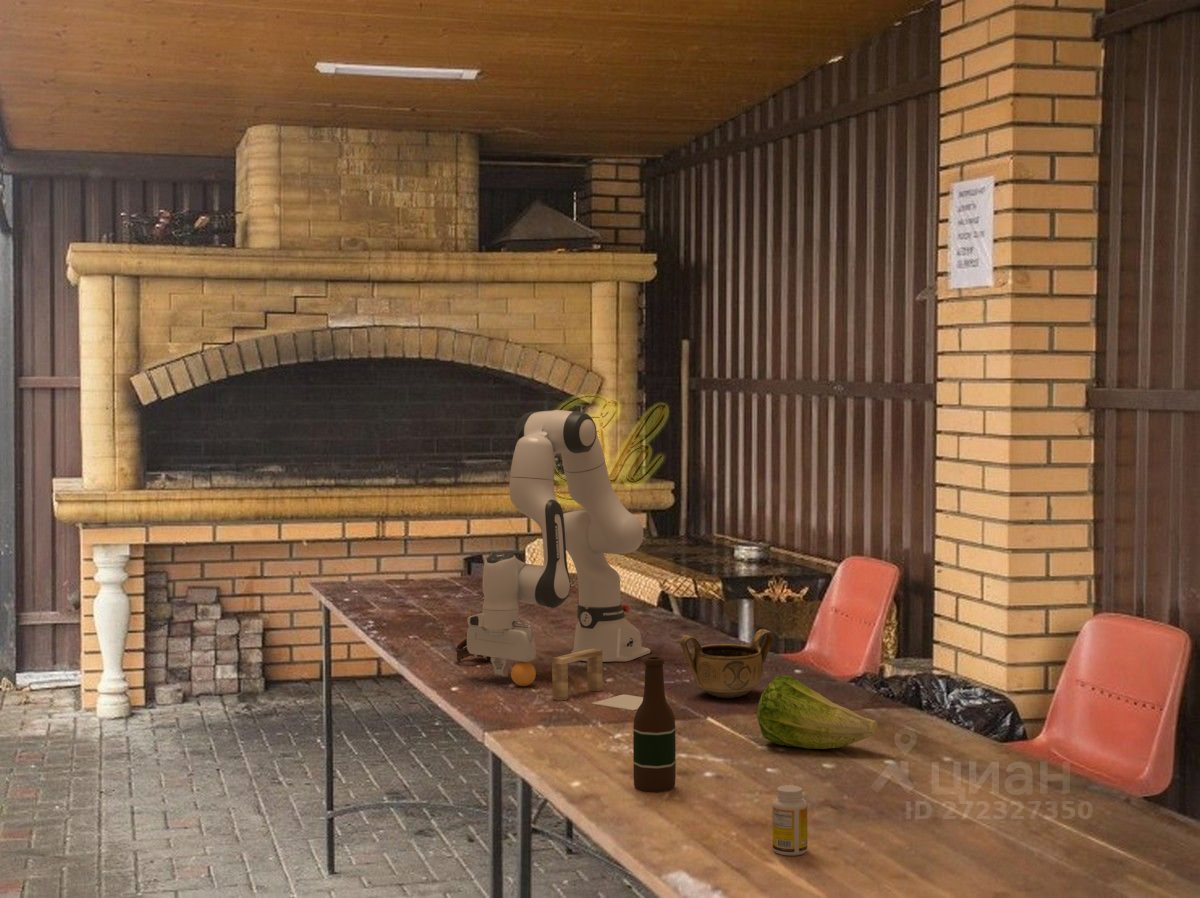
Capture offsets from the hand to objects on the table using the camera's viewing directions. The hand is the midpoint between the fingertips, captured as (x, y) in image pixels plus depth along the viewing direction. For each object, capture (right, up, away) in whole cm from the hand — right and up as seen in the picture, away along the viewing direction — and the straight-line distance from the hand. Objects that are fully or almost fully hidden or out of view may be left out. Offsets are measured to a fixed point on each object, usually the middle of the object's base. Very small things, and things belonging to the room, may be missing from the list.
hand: (501, 675), depth 388 cm
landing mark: (+31, -3, -24) cm, 39 cm away
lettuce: (+69, -5, -68) cm, 97 cm away
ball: (+6, +1, -4) cm, 7 cm away
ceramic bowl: (+54, -3, -17) cm, 57 cm away
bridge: (+19, -2, -15) cm, 24 cm away
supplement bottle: (+54, -9, -136) cm, 147 cm away
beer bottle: (+34, -7, -97) cm, 103 cm away
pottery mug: (-8, -1, +27) cm, 29 cm away
